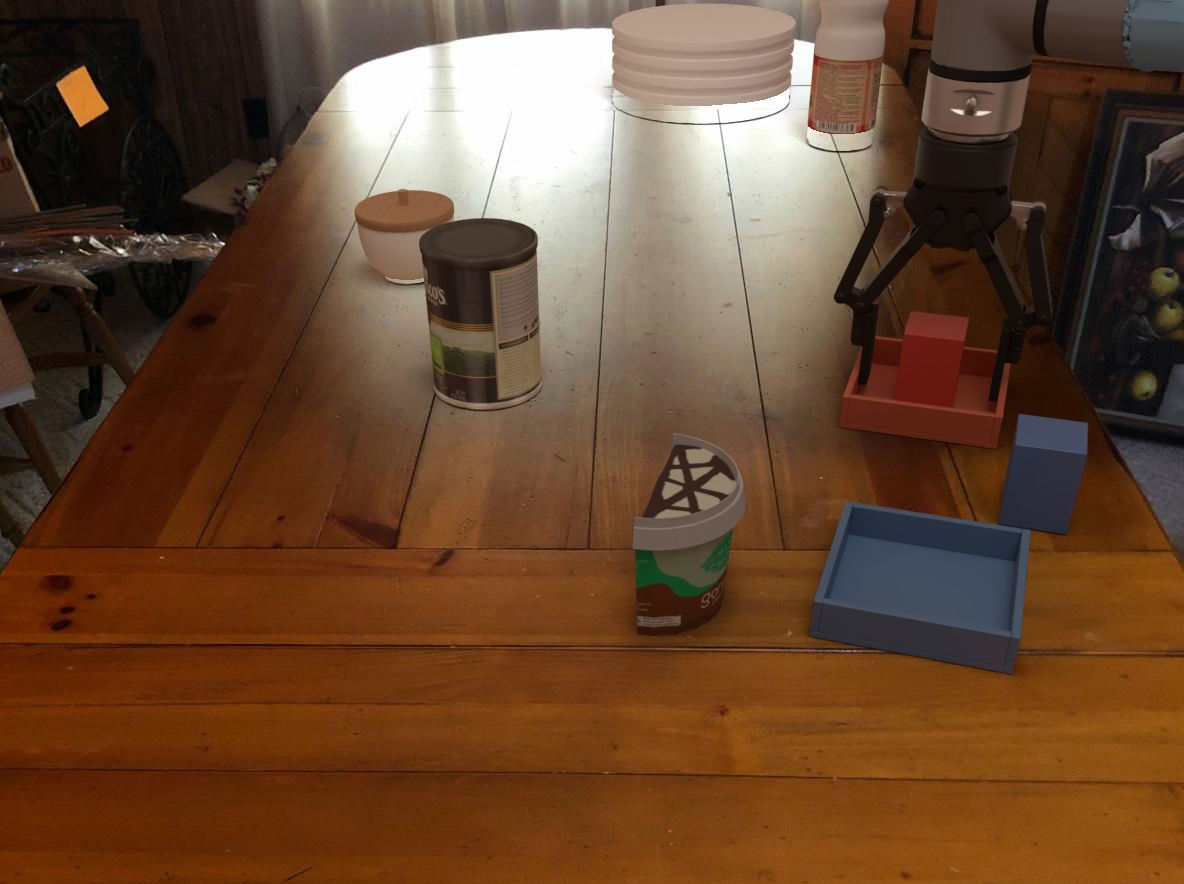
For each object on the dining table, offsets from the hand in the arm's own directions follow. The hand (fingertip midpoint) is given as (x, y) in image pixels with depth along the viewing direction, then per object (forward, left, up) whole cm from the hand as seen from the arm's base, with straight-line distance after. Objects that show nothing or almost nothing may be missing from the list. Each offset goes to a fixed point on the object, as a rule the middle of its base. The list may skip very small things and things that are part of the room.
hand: (928, 386), depth 108 cm
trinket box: (+58, -15, -2) cm, 60 cm away
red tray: (0, 0, -2) cm, 2 cm away
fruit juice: (+21, -77, -2) cm, 80 cm away
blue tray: (-3, +30, -2) cm, 30 cm away
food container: (+12, +35, -2) cm, 37 cm away
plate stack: (+46, -95, -2) cm, 105 cm away
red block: (0, 0, -1) cm, 1 cm away
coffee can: (+39, +8, -2) cm, 40 cm away
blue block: (-10, +16, -2) cm, 19 cm away
